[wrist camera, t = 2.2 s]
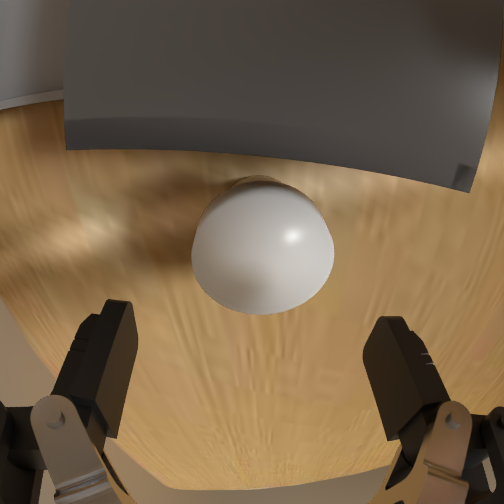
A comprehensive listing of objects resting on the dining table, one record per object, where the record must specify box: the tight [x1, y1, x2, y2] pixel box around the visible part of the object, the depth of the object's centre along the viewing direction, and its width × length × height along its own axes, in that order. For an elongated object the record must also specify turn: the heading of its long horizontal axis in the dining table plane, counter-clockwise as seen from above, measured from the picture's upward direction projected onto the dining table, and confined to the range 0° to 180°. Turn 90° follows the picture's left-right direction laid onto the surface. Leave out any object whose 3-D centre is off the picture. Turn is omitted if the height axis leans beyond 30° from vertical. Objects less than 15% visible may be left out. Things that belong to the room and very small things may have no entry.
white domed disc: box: [191, 181, 334, 315], centre depth 14 cm, size 6×6×2 cm
